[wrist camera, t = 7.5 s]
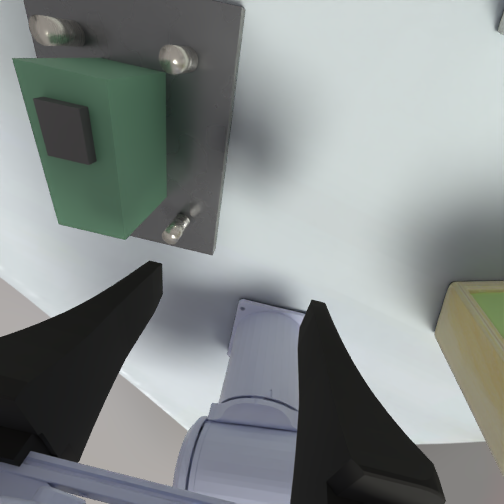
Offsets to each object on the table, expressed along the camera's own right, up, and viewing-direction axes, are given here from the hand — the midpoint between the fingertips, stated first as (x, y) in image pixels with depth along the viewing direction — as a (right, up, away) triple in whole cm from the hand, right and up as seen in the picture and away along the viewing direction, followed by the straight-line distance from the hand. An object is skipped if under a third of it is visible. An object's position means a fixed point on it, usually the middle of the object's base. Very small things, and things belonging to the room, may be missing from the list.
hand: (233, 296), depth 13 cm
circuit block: (-7, +10, +5) cm, 13 cm away
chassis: (-7, +10, +6) cm, 14 cm away
